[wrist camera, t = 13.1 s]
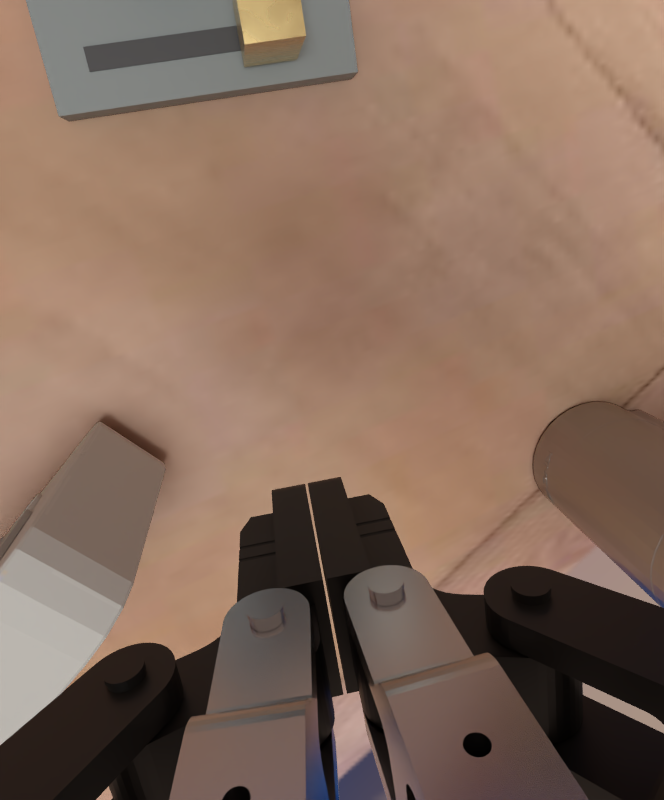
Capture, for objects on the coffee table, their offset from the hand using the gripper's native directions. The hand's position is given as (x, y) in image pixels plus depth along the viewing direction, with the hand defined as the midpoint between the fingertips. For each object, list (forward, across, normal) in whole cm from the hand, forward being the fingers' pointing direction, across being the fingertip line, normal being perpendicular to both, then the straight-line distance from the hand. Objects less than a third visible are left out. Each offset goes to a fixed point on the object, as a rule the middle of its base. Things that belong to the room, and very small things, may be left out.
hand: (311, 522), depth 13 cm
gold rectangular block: (+26, -2, -16) cm, 30 cm away
